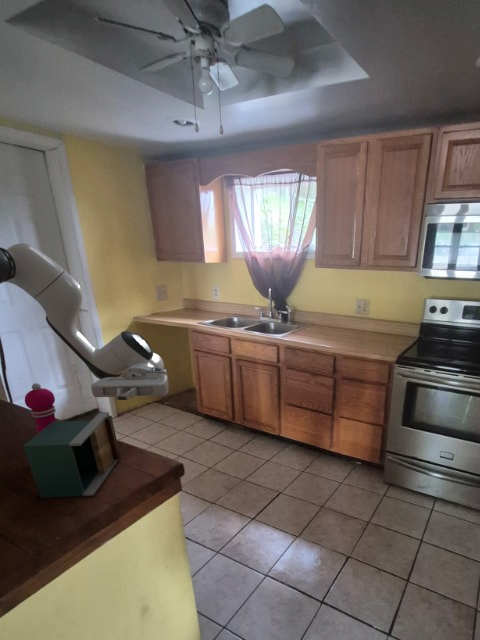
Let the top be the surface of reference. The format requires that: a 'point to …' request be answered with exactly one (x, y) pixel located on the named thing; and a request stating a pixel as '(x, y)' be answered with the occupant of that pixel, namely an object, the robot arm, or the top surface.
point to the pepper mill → (41, 406)
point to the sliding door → (105, 445)
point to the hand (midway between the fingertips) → (121, 397)
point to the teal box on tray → (66, 459)
